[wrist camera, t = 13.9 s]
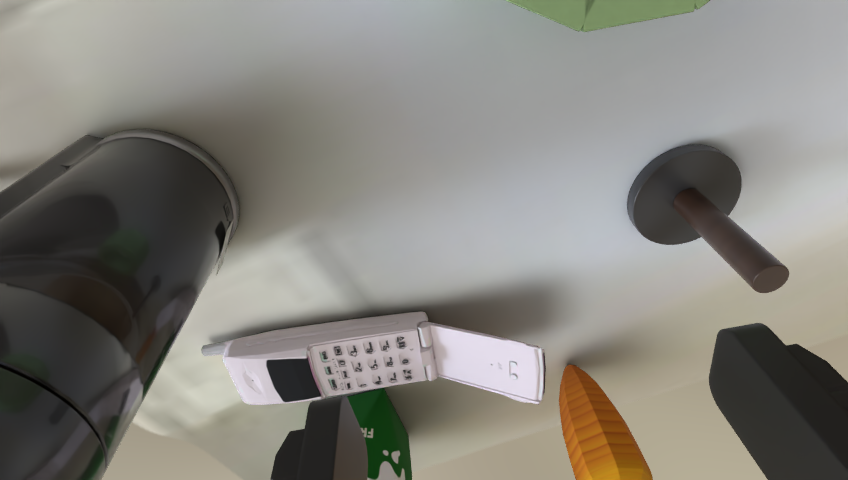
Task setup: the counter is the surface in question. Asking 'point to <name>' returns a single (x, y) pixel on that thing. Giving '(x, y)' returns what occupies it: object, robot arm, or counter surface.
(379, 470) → the milk carton
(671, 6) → the ring
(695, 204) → the peg stand
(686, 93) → the counter surface
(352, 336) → the mobile phone
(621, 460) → the carrot
